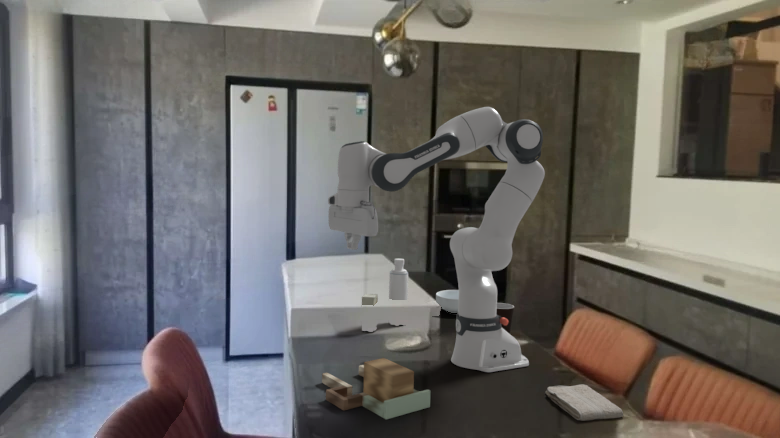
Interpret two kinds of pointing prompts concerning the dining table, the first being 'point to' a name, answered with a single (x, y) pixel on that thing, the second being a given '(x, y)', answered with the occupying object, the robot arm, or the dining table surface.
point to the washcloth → (583, 402)
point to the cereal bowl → (448, 300)
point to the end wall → (406, 404)
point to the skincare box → (369, 299)
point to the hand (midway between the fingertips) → (352, 249)
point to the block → (387, 379)
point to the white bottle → (398, 281)
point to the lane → (350, 395)
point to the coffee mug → (505, 314)
